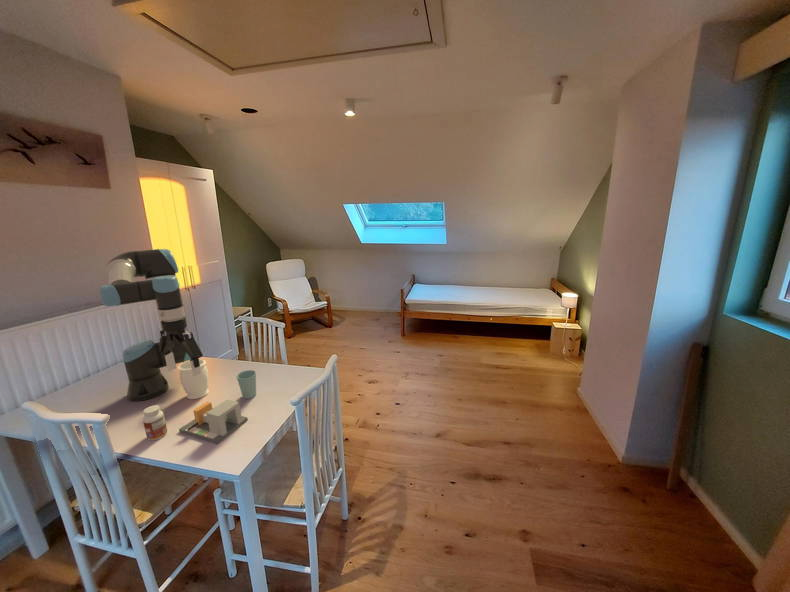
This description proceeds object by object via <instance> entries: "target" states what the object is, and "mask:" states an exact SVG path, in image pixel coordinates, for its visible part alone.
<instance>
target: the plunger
mask: <svg viewBox="0 0 790 592" xmlns="http://www.w3.org/2000/svg"><path fill="white" fill-rule="evenodd" d="M212 408H213V404H212V402H210V401H206V402H204V403H202V405H200V406H198V407H195V409H193V416H194V419H195V421H196V423H195V424H194V425H192V426H191V427H189V428H188V429H187V430H188V431H189V430H190V429H192V428H193V427H195V426H196V425H201V424H203V423H204V422H206V423H208V419H207V414H206V413H207V412H209V411H210V410H212ZM224 419H225V416H224ZM225 422H226V421H225Z"/></svg>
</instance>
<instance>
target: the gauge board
mask: <svg viewBox="0 0 790 592" xmlns="http://www.w3.org/2000/svg"><path fill="white" fill-rule="evenodd" d="M206 414H207V419H208V423H206V422H204V423H203V424H201V425H196V426H195V427H193V428H192V429H190V430H189V431H188V430H187V429H188V428H189V427H191V426H192V425H194V424H195V423H196V421H195V418H194V419H193V420H191V421H189V422H188V423H186V424H185V425H183V426H182V427H180V428H178V432H179V433H181V434H185V435H189V436H191V437H195V438H198V439H201V440H205V441H207V442H210V443H214V444H216V445H217V444H218V443H220V442H221V441H222V440H224V439H225V438H226V437H228V436H229V435H231V434H232V433H233V432H235V430H237V429H238V428H239V427H241V426H242V425H243V424H245V423H246V422H247V421H248V419H249V418H248V417H247V416H243V415H242V411H241V406H240V402H239V401H236V400H231V399H226V400H224V401H222V402H221V403H220V404H218V405H216V406H215V407H212V410H210V411H209V412H207V413H206ZM224 416H225V419H224ZM225 421H226V422H225Z"/></svg>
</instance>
